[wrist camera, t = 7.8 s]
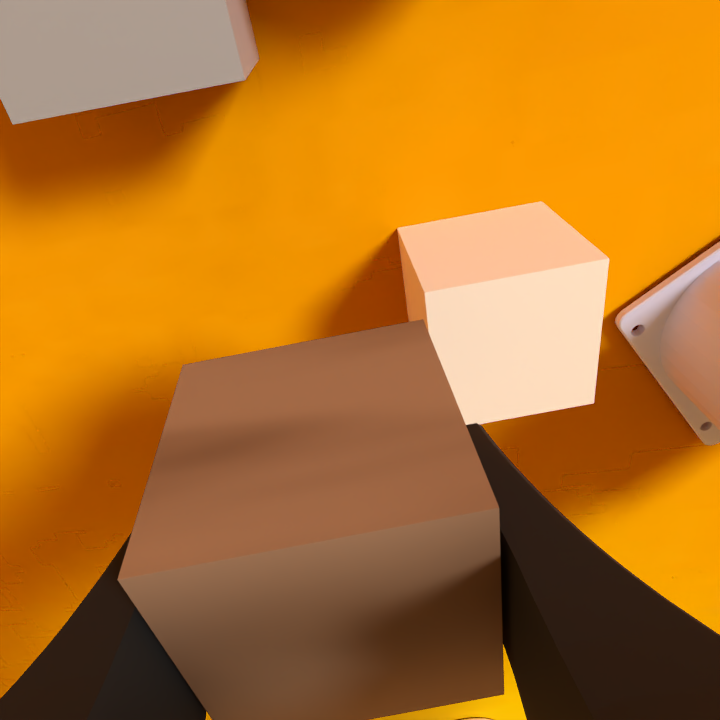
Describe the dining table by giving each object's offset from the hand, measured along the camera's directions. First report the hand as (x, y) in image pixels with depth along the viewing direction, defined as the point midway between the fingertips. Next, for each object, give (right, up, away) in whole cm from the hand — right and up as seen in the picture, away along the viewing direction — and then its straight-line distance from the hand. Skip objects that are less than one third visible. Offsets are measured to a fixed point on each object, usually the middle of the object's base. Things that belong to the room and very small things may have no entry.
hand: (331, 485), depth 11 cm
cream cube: (+5, +6, +9) cm, 11 cm away
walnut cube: (0, +1, +1) cm, 2 cm away
